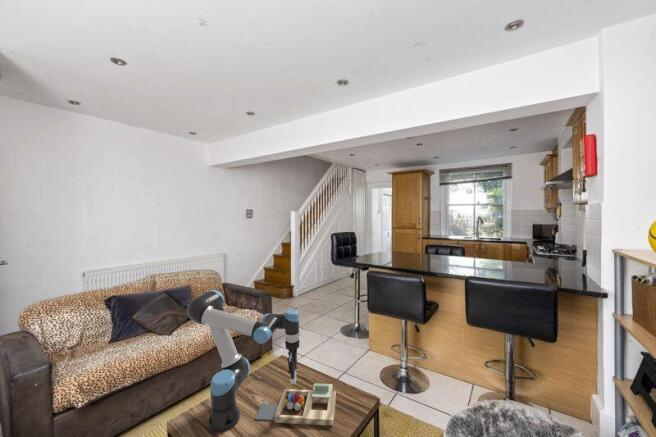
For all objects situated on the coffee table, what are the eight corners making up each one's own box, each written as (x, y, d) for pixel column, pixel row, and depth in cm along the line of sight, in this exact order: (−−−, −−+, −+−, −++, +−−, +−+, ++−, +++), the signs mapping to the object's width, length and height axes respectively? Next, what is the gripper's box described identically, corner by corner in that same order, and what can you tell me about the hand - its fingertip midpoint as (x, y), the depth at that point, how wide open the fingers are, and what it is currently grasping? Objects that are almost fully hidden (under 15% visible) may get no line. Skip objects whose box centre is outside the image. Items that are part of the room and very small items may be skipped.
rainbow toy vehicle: (301, 413, 145) (301, 399, 145) (284, 410, 147) (283, 397, 147) (306, 401, 153) (305, 389, 153) (289, 399, 155) (289, 387, 155)
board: (274, 422, 139) (273, 416, 139) (287, 387, 166) (287, 382, 166) (333, 425, 136) (332, 419, 136) (336, 389, 163) (336, 384, 162)
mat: (254, 419, 141) (254, 418, 141) (261, 404, 152) (261, 403, 152) (275, 420, 140) (275, 419, 140) (281, 405, 151) (281, 404, 151)
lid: (311, 397, 152) (311, 391, 151) (314, 384, 163) (314, 378, 162) (329, 398, 151) (329, 391, 150) (331, 385, 161) (331, 379, 161)
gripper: (296, 346, 139) (297, 391, 141) (301, 333, 154) (302, 374, 155) (282, 346, 140) (283, 391, 141) (288, 333, 154) (289, 374, 155)
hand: (293, 382), depth 148 cm, fingers closed
